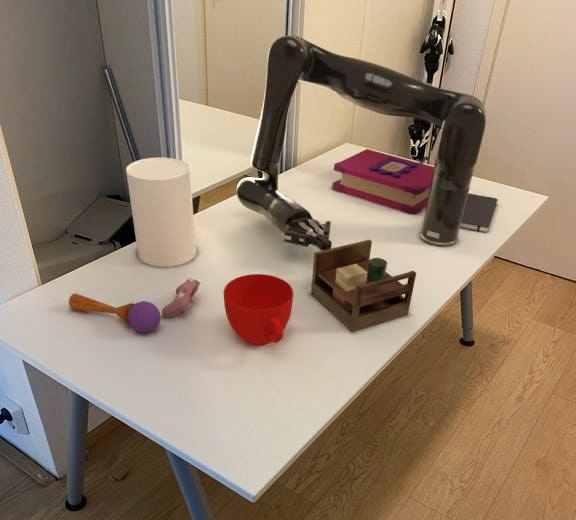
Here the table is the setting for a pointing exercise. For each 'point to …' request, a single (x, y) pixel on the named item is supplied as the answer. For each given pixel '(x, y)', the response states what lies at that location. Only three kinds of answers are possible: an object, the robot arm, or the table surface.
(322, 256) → the rack
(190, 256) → the canister
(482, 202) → the notebook
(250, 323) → the ceramic cup
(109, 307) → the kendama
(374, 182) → the book
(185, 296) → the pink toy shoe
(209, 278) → the table surface
